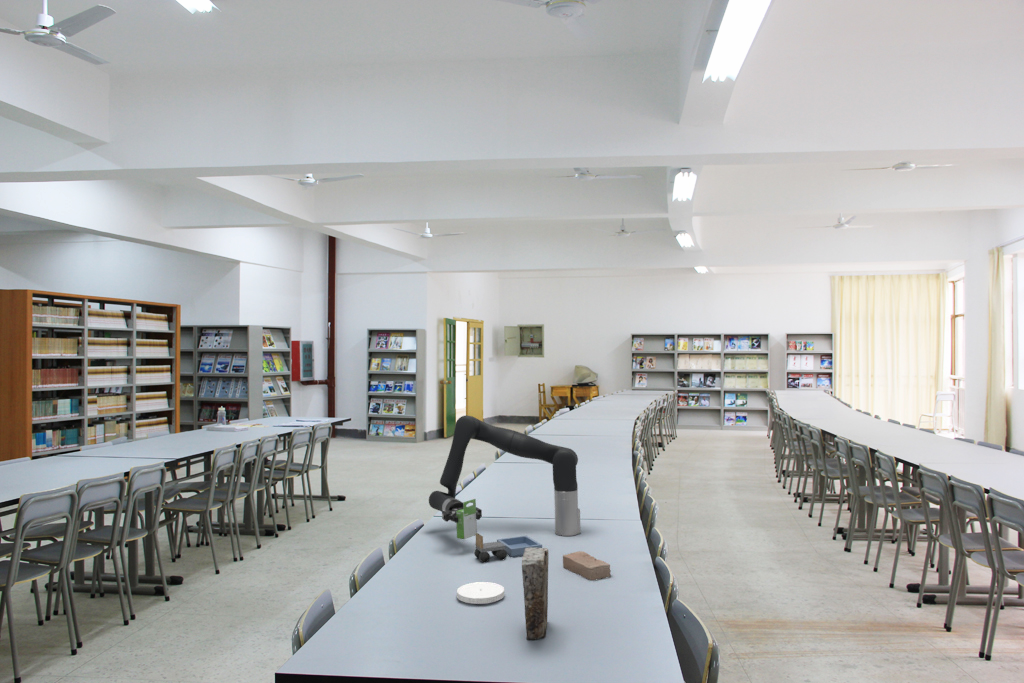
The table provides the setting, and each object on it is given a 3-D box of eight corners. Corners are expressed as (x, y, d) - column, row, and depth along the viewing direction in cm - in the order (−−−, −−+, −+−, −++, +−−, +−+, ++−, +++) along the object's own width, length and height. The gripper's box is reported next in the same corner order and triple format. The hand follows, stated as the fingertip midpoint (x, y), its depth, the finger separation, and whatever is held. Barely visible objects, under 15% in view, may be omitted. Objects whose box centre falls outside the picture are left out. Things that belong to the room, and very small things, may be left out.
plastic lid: (487, 610, 194) (487, 601, 194) (447, 601, 201) (447, 593, 201) (513, 595, 206) (513, 586, 206) (475, 587, 213) (474, 579, 213)
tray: (526, 543, 260) (526, 535, 260) (542, 553, 247) (542, 544, 247) (496, 547, 255) (496, 539, 255) (511, 557, 242) (511, 549, 242)
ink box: (469, 533, 254) (468, 497, 254) (477, 535, 252) (476, 498, 252) (456, 538, 249) (455, 501, 249) (464, 539, 246) (463, 502, 247)
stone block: (523, 620, 186) (522, 545, 186) (549, 620, 185) (548, 545, 186) (523, 641, 172) (521, 560, 173) (551, 640, 172) (549, 560, 172)
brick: (612, 577, 220) (611, 562, 220) (590, 582, 216) (590, 566, 216) (582, 564, 235) (582, 550, 235) (561, 568, 231) (561, 554, 231)
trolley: (500, 554, 246) (500, 529, 246) (507, 559, 240) (506, 533, 241) (474, 558, 242) (473, 533, 242) (480, 563, 237) (479, 537, 237)
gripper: (436, 501, 261) (448, 510, 246) (471, 497, 267) (486, 505, 251) (436, 521, 261) (449, 531, 246) (472, 516, 266) (487, 526, 251)
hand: (468, 518), depth 249 cm, fingers closed on ink box, 8 cm apart
